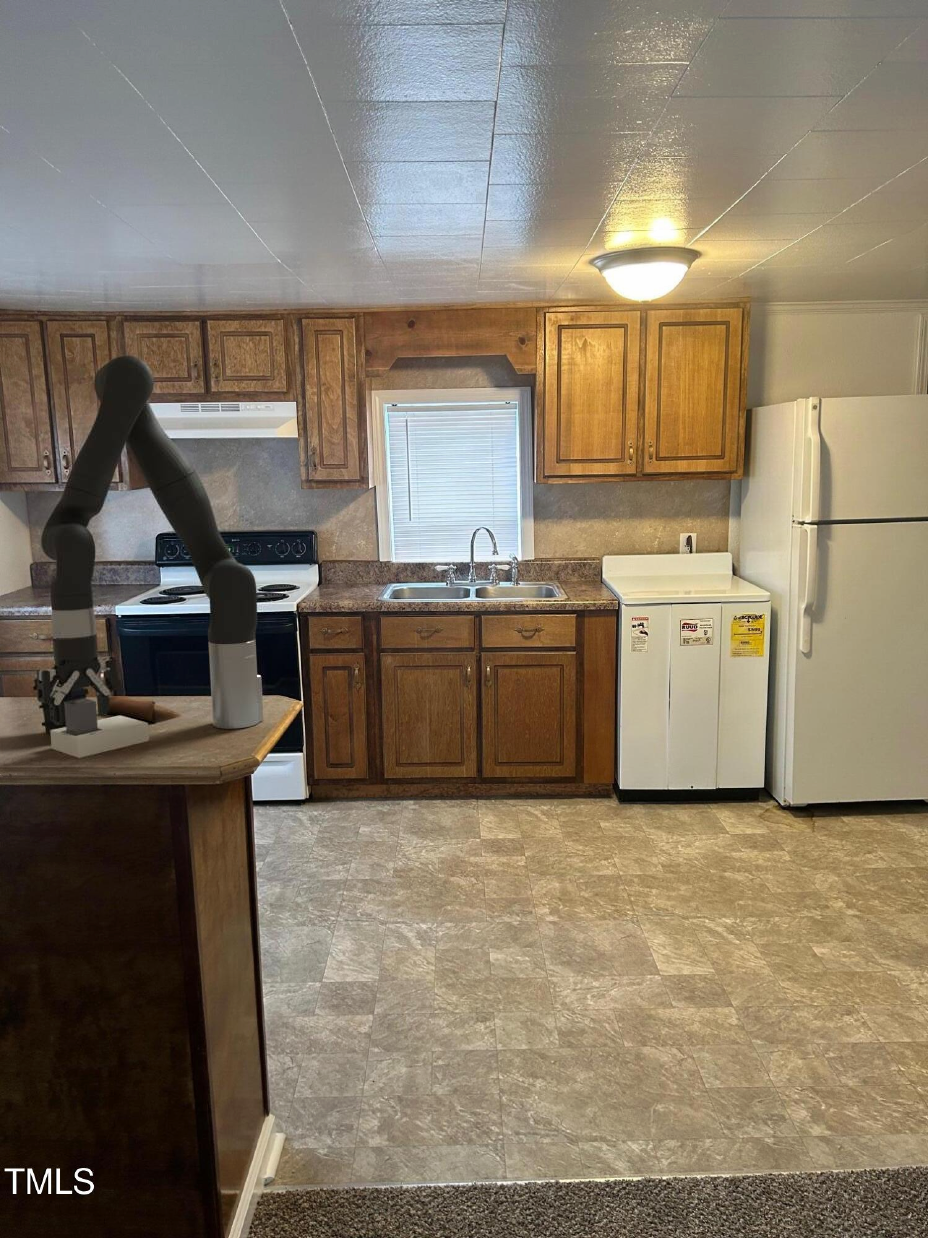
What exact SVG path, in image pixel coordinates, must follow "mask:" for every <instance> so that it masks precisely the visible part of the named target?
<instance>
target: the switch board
mask: <svg viewBox="0 0 928 1238" xmlns="http://www.w3.org/2000/svg"><path fill="white" fill-rule="evenodd" d="M97 725H98V731H95V732H91V733H86V734H82V735H77V736H74V735H70V734H67V731H66V727H64V728H59V729H54V730H50V733H51V734H50V743H51V749H52V750H54V751H58V752H59V753H60V752H61V753H63V754H66V755H69V756H72V757H75V758H78V759H79V758H80V759H81V758H83V757H88V756H93V755H97V754H100V753H105V752H108V751H112V750H117V749H120V748H124V747H125V748H126V747H129V746H134V745H137V744H141V743H146V742H149V741H150V736H149V732H150V731H149V723H148V722H145V721H142V720H138V719H135V718H131V717H129V716H125V715H121V714H120V715H116V716H115V715H114V716H110V717H107V718H106V717H105V718H102V719H97Z"/></svg>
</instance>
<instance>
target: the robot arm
mask: <svg viewBox="0 0 928 1238" xmlns="http://www.w3.org/2000/svg"><path fill="white" fill-rule="evenodd" d="M154 380H155V379H154V375H153V372H152V370H151V368H150V367H149V366H148V364H147V363H146V362H145V361H143V360H142V359H141V358H139V357H136V356H133V355H121V356H117V357H115V358H112V359H111V360H109V361H108V362H107V363H105V364H104V365H103V366H102V367H100V368H99V369H98V371H96V373H95V375H94V380H93V388H94V392H95V395H96V397H97V399H98V400H99V402H100V404H99V409H98V411H97V415H96V417H95V419H94V423H93V424H92V427H91V429H90V431H89V433H88V435H87V437H86V439H85V441H84V443H83V445H82V447H81V448H80V450H79V452H78V454H77V456H76V458H75V460H74V463H73V465H72V467H71V470H70V472H69V476H68V478H67V479H66V483H65V487H64V489H63V493H62V495H61V498H60V499H59V501H58V503H57V504H56V506H55V507H54V509H53V511H52V512H51V515H50V516H49V518H48V520H47V521H46V523H45V526H44V527H43V531H42V534H41V538H40V539H41V540H40V542H41V543H40V545H41V549H42V551H43V553H44V554H45V556H47V558H49V559H51V560H52V561H55V562H56V565H55V566H56V568H55V577H54V578H53V579H52V580H51V582H50V585H49V595H50V607H51V616H50V617H51V618H50V625H51V637H52V638H51V639H52V640H51V641H52V651H53V659H54V666H53V667H54V668H53V667H52V668H53V669H51V668H50V669H44V668H43V669H42V668H39V669H38V670H37V671H36V678H37V690H36V693H37V694H36V695H37V697H36V698H37V701H38V703H39V702H40V703H41V702H43V703H46V704H49V706H50V716H51V720H52V722H54V724H56V725H62V724H63V712H62V705H61V704H60V703H61V701H62V699H63V698H64V696H65V695H66V694H67V693H68V692H69V690H70V689H77V688H80V687H84V688H88V687H91V688H92V689H93V690H94V691H95V692H96V693H97V694H96V707H97V715H99V716H101V717H103V716H107V715H108V713H107V712H108V711H109V709H110V708H109V697H110V694H111V693H112V692H113V691H117V690H118V689H119V682H118V675H117V667H116V661H115V660H114V659H111V658H106V657H105V658H103V659H102V660H99V658H98V657H99V646H98V633H97V632H98V631H97V630H98V628H97V627H98V626H97V620H96V615H95V614H96V613H95V609H94V608H95V607H94V597H93V587H92V580H93V577H94V571H95V563H96V543H95V539H94V537H93V534H92V533H91V532H90V530H89V529H88V526H89V523H90V521H91V520H92V519H93V518H94V517H96V516H97V515H98V514H100V512H101V511H102V509H103V507H104V504H105V502H106V498H107V496H108V493H109V490H110V487H111V484H112V482H113V478H114V476H115V473H116V470H117V467H118V464H119V461H120V458H121V456H122V453H123V451H124V447H125V445H126V443H127V446H128V448H129V450H130V452H131V454H132V456H133V459H134V460H135V462H136V464H137V466H138V468H139V470H140V472H141V474H142V476H143V477H144V479H145V481H146V484H147V485H148V487H149V489H150V491H151V494H152V495H153V497H154V498H155V501H156V502H157V505H158V507H159V508H160V510H161V511H162V513H163V514H164V517H165V518H166V520H167V521H168V523H169V525H170V526H171V528H172V530H173V531H174V533H175V534H176V536H177V537H178V538H179V540H180V541H181V542H182V544H183V546H184V548H185V549H186V551H187V552H188V556H189V558H190V559H191V562H192V565H193V566H194V569H195V572H196V573H197V576H198V579H199V581H200V585H201V588H202V589H203V592H204V593H205V595H206V596H207V598H208V599H209V614H210V616H209V618H210V619H209V627H208V630H207V639H208V640H207V641H208V655H209V675H210V676H209V677H210V691H211V694H210V695H211V709H212V712H211V713H212V725H213V727H215V728H217V729H218V728H219V729H229V730H230V729H232V730H233V729H243V728H248V727H253V726H256V725H257V724H259V723H260V722H264V706H263V705H264V703H263V701H264V699H263V685H262V684H263V682H262V681H263V680H262V676H261V675H260V674H258V666H257V664H258V663H257V662H258V661H257V645H256V629H257V625H258V600H257V599H258V598H257V583H256V577H255V576H254V573H253V572H252V571H251V570H250V568H248V566H246V565H244V564H242V563H241V562H238V561H237V560H236V558H235V556H234V555H233V554H232V553H231V551H230V549H229V547H228V546H227V544H226V543H225V540H224V539H223V537H222V535H221V533H220V530H219V528H218V526H217V523H216V518H215V515H214V511H213V507H212V504H211V501H210V499H209V495H208V492H207V491H206V489H205V487H204V485H203V483H202V481H201V479H200V476H199V475H198V473H197V471H196V469H195V467H194V465H193V464H192V462H191V461H190V460H189V459H188V457H187V456H186V454H185V453H184V452H183V451H182V450H181V449H180V448H179V446H178V445H177V444H176V443H175V442H174V441H173V440H172V439H171V437H169V435H168V434H167V433H166V432H165V430H164V429H163V428H162V426H161V425H160V423H159V421H158V419H157V417H156V416H155V413H154V411H153V409H152V407H151V405H150V401H149V399H150V397H151V396H152V393H153V391H154V388H155V381H154ZM100 670H101V671H103V675H104V676H103V677H104V681H102V680H101V678H99V676H98V673H99V672H100ZM54 675H55V677H56V678H57V679H58V680H57V682H56V684H55V685H54V687H53V691H52V693H51V694H50V681H52V679H53V676H54Z"/></svg>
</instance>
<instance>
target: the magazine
mask: <svg viewBox="0 0 928 1238" xmlns="http://www.w3.org/2000/svg"><path fill="white" fill-rule="evenodd" d="M53 668H54V666H53V667H51V668H50V669H53ZM57 680H58V679H57V678H56V677H55V675H54V676H53V679H52V681H50V694H51V693H52V691H53V687H54V685H55V684H56V682H57ZM33 683H34V686H32V688H33V689H32V690H33V691H37V677H36V678H34V680H33ZM88 694H89V689H88V688H85V687H80V688H77V689H70V690H69V692H68V693H67V694H66V695H65V696H64V698H63V699H62V701H61V703H60V704H61V705H62V712H63V724H62V725H56V724H54V722H52V720H51V716H50V706H49V704H46V703H43V702H40V703H41V704H39V705H38V709H39V710H40V709H42V712H43V719H44V721H43V722H41V726H42V727H44V728H45V733H46V734H50V735H51V733H50V730H54V729H59V728H64V727H66V718H65V705H64V702H68V701H73V700H78V699H84V698H86V699H88V698H87V695H88Z"/></svg>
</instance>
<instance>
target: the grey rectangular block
mask: <svg viewBox="0 0 928 1238" xmlns="http://www.w3.org/2000/svg"><path fill="white" fill-rule="evenodd" d="M86 698H87V697H86ZM86 698H84V699H78V700H73V701H68V702H64V705H65V718H66V731H67V734H70V735H74V736H77V735H82V734H86V733H91V732H95V731H98V725H97V720H98V710H97V700H93V699H89V698H87V699H86Z"/></svg>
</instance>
